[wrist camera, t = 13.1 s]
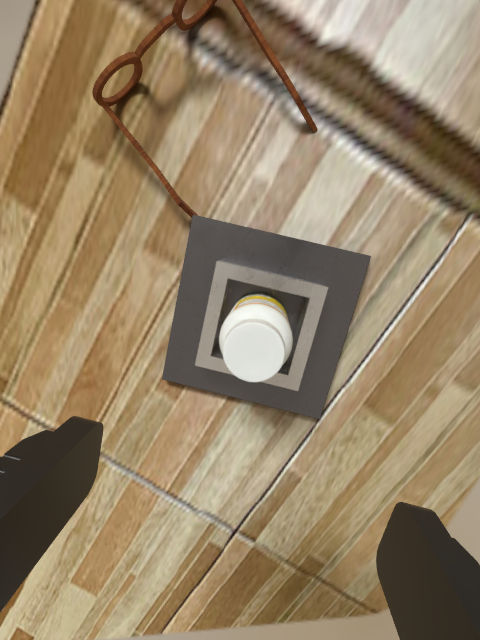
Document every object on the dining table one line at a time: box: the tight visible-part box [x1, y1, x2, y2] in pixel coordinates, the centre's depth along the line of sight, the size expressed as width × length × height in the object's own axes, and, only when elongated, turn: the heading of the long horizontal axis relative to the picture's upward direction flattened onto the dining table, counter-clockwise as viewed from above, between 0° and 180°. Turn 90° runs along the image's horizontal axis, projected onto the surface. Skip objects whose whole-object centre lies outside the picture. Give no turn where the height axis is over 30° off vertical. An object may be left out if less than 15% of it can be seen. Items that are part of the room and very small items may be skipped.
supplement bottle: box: [219, 293, 293, 382], centre depth 24 cm, size 5×5×10 cm
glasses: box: [93, 0, 317, 218], centre depth 25 cm, size 13×13×5 cm
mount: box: [162, 215, 371, 419], centre depth 28 cm, size 16×16×4 cm
